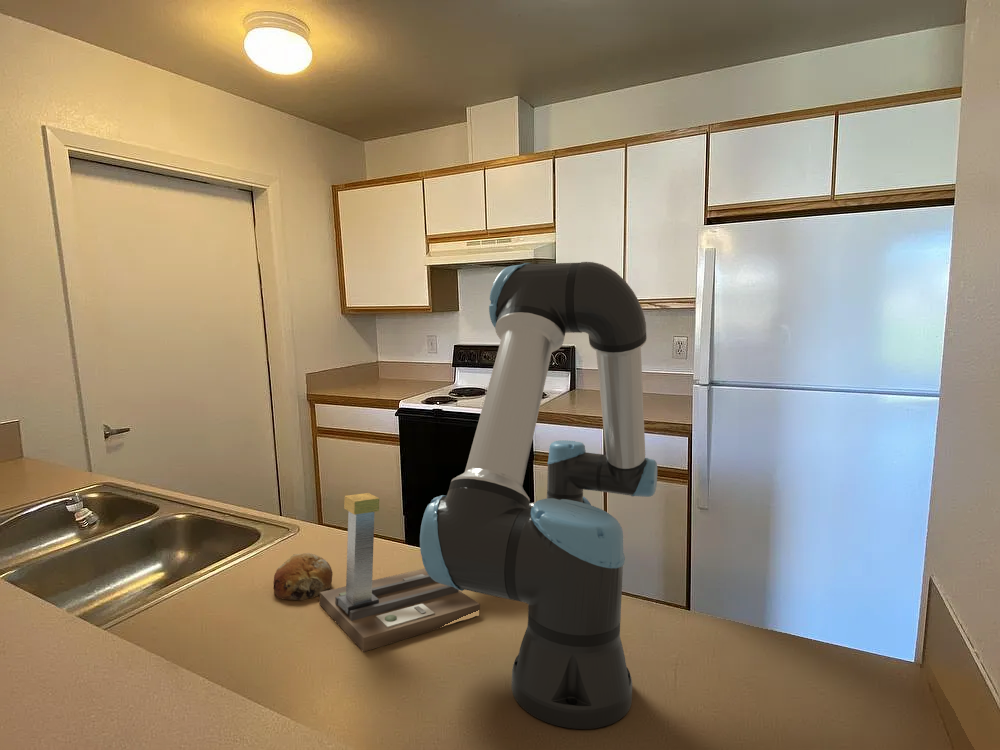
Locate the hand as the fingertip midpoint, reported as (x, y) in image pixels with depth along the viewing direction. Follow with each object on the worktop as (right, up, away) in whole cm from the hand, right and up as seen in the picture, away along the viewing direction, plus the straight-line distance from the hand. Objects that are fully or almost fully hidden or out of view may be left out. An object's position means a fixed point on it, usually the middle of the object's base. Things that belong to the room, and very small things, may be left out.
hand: (425, 544), depth 94 cm
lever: (-10, -7, -8) cm, 14 cm away
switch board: (-4, -10, -4) cm, 11 cm away
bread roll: (-22, -9, +3) cm, 24 cm away
